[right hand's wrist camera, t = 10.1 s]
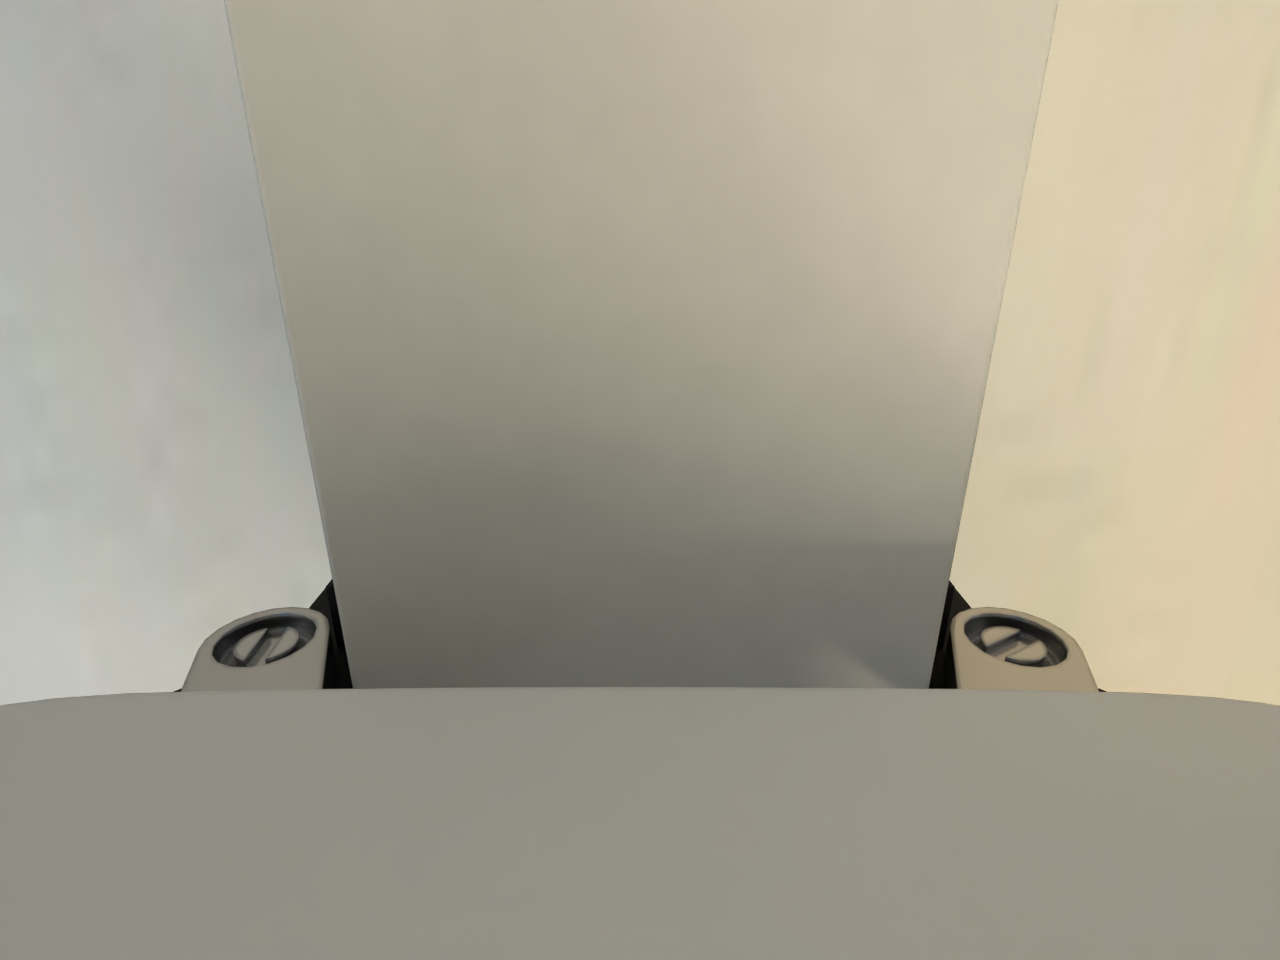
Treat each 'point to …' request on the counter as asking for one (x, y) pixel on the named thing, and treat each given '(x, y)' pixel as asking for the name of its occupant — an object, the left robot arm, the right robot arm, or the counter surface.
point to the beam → (641, 322)
